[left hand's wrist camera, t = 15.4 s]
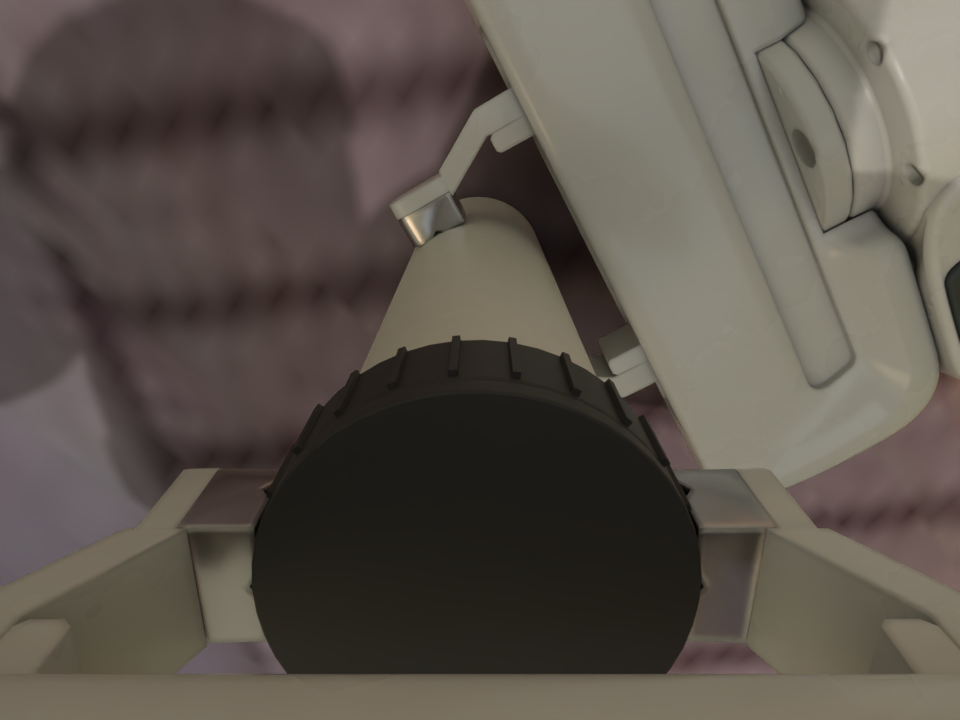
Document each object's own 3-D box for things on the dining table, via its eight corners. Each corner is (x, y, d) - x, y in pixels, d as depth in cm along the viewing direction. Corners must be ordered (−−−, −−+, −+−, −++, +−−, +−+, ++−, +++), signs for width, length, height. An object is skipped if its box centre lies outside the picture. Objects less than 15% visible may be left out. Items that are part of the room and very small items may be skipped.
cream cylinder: (467, 169, 25) (442, 318, 8) (565, 249, 26) (735, 538, 9) (391, 269, 27) (225, 587, 9) (488, 341, 28) (503, 749, 10)
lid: (207, 443, 10) (149, 516, 8) (568, 259, 9) (589, 296, 7) (407, 710, 11) (395, 813, 10) (726, 580, 11) (772, 670, 9)
